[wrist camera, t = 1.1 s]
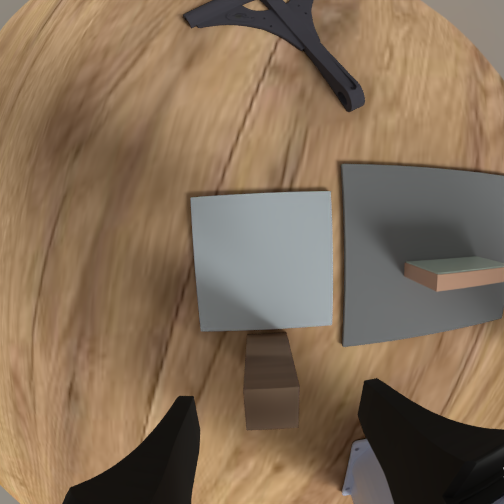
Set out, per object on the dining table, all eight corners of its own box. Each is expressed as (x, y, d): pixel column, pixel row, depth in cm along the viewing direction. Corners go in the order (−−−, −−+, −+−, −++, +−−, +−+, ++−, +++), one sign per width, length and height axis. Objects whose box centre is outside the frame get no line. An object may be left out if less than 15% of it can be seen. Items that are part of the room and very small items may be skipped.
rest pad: (330, 323, 23) (332, 325, 23) (201, 329, 23) (200, 331, 23) (329, 191, 22) (330, 191, 21) (191, 197, 22) (190, 197, 22)
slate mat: (499, 316, 23) (501, 317, 22) (341, 345, 23) (343, 347, 23) (505, 176, 21) (508, 176, 21) (340, 164, 21) (342, 163, 21)
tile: (475, 269, 22) (511, 280, 17) (404, 276, 22) (436, 291, 17) (476, 255, 22) (512, 265, 17) (404, 261, 22) (437, 273, 17)
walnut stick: (286, 365, 24) (298, 427, 16) (249, 367, 24) (246, 430, 16) (286, 332, 23) (299, 386, 15) (247, 334, 23) (243, 389, 15)
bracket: (274, 152, 22) (277, 144, 19) (184, 21, 21) (178, 4, 18) (412, 85, 21) (427, 74, 18) (319, -28, 20) (324, -45, 17)
